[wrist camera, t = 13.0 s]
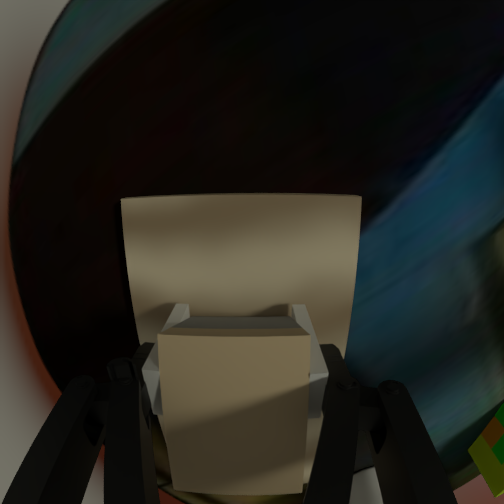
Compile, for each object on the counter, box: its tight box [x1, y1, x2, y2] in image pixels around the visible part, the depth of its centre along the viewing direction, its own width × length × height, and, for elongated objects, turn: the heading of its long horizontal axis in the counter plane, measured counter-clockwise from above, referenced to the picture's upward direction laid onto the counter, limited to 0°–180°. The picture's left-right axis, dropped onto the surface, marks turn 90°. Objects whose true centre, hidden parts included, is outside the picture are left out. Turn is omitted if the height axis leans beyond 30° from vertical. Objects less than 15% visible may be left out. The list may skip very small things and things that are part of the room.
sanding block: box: [157, 316, 311, 495], centre depth 14 cm, size 8×6×7 cm
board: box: [121, 193, 362, 483], centre depth 21 cm, size 28×14×1 cm, turn 0°
